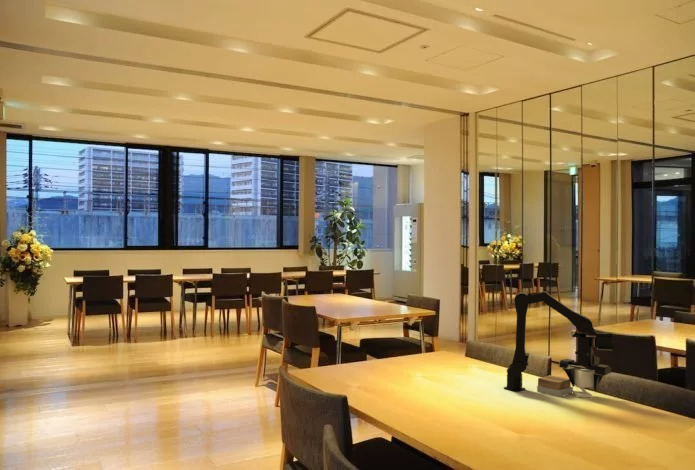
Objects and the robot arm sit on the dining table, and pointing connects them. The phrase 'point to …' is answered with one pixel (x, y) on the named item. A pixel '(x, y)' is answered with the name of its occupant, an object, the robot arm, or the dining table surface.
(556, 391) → the tower base
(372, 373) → the dining table surface
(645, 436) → the dining table surface
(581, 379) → the security camera
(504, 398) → the dining table surface
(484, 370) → the dining table surface
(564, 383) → the tower top
